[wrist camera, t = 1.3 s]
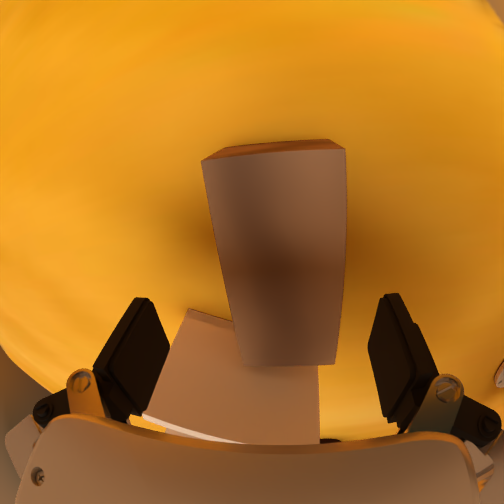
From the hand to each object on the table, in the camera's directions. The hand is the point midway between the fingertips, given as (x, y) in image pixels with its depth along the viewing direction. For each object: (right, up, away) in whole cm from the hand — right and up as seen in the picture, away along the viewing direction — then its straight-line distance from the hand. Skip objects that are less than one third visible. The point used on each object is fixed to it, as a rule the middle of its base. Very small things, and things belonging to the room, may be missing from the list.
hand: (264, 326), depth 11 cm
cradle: (-3, -10, +15) cm, 18 cm away
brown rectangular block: (+2, +4, +7) cm, 8 cm away
